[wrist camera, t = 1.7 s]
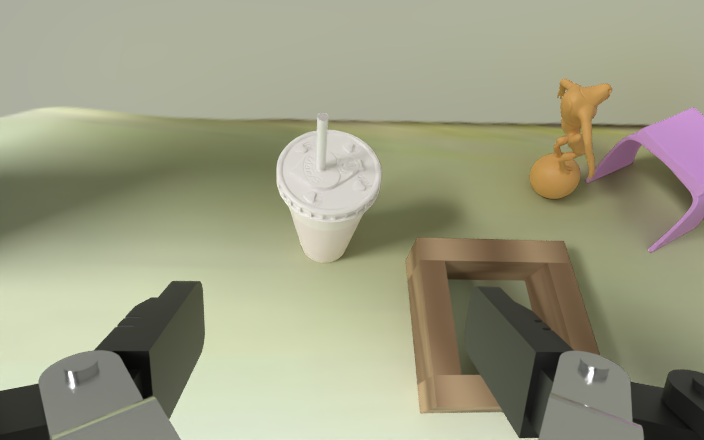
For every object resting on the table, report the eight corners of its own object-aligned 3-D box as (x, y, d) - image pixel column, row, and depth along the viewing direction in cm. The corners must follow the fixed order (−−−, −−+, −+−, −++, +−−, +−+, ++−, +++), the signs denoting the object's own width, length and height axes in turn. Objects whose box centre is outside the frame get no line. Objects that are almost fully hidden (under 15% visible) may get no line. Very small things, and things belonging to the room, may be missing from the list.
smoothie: (279, 213, 33) (262, 76, 21) (354, 203, 34) (379, 68, 22) (289, 285, 30) (277, 174, 18) (372, 272, 31) (412, 159, 19)
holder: (420, 413, 27) (436, 407, 23) (405, 260, 32) (417, 237, 29) (577, 410, 28) (615, 404, 24) (537, 263, 33) (563, 241, 30)
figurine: (576, 229, 35) (688, 136, 25) (510, 226, 35) (596, 130, 24) (551, 154, 39) (638, 48, 29) (492, 151, 39) (559, 41, 28)
